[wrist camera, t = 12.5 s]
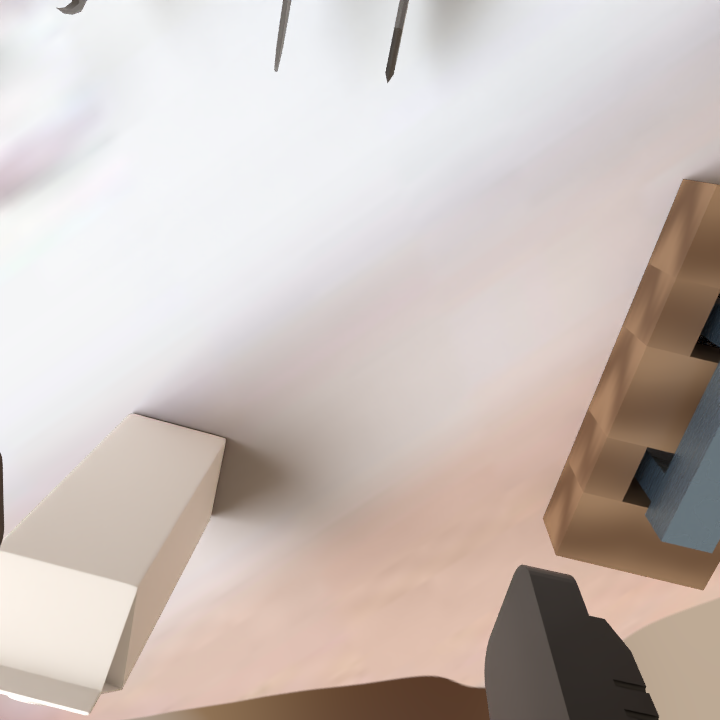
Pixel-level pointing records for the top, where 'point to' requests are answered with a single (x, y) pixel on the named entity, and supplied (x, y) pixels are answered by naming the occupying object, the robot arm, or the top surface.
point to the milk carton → (102, 562)
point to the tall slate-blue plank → (689, 471)
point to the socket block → (646, 405)
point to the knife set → (79, 3)
